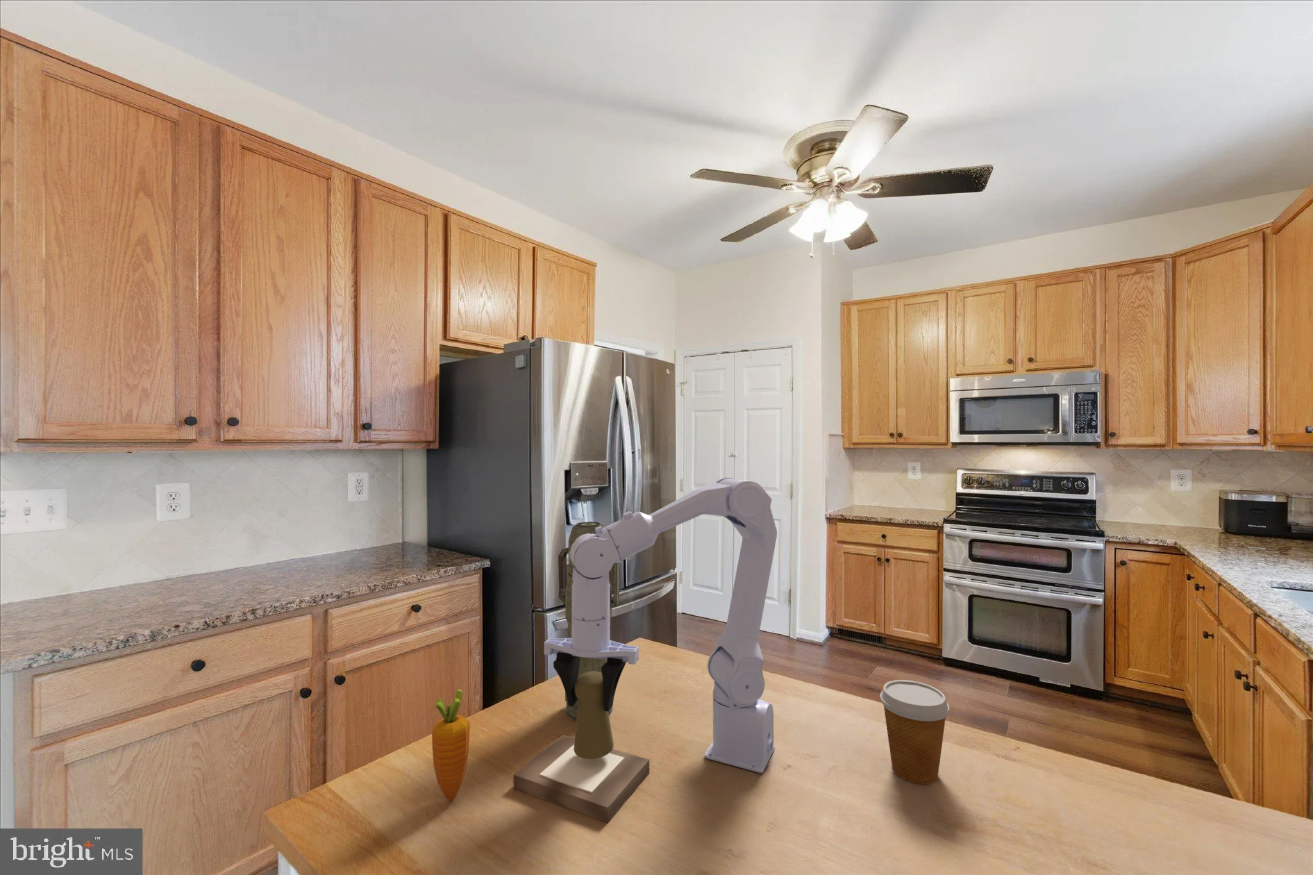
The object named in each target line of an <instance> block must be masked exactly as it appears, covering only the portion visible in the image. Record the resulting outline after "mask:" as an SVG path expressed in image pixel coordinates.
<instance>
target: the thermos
mask: <svg viewBox="0 0 1313 875" xmlns="http://www.w3.org/2000/svg"><path fill="white" fill-rule="evenodd" d="M599 526H601V527H602V528H604V527H606V526H605V524H602V523H601V522H597V521H581V522H577V523H576V524H573V525H572V527H571V531H570V534H569V536H568V541H567V542H568V544H567V545H568V547H565V548H562V550H561V551H560V553H559V554H558V560H557V561H558V562H557V564H558V565H557V566H558V588H559V589H558V591H559V592H558V599H559V600H560V601H561V603H563V605H564V606H565V607H564V611H565V612H564V613H565V614H564V616H565V620H566V622H567V638H572V584H573V579H572V575H573V568H574V567H575V566H574V565H573V563H572V562H571V560H570V556H569V552H570V551H571V546H572V544H573V543H574V542H575V540H576V539H577V538H578V537H579V536H581V535H584V534H589V533H590V534H595V535H596V531H595V528H597V527H599ZM567 556H568V558H567ZM567 560H568V562H567ZM567 566H568V567H569V572H568V574H567V570H568V568H567ZM612 576H613V578H612V579H613V580H612V583H611V581H610V579H609V584H610V621H611V620H612V617H613V607H618V605H619V601H620V562H618V563H614V564H613V566H612ZM567 578H568V580H567ZM612 584H613V585H612ZM612 586H613V587H612ZM606 662H607V660H605V659H596V658H587V657H580V664H579V674H578V677H579V676H580V675H582V674H583V673H586V672H591V671H596V672H601V667H602V666H603V665H604V664H605V663H606ZM601 673H602V672H601ZM564 696H565V697H564V699H565V702H566V707H565V715H566V716H567V718H569V719H570V720H571V721H573V722H576V720H577V710H578V701H577V702H576V703H575V704H574V706H573V707H571V706H568V701H567V697H566V693H565V692H564ZM612 712H613V707H612V708H611V709H610V710H609V711H608V714H609V716H610V715H611V714H612Z"/></svg>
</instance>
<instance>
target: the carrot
mask: <svg viewBox="0 0 1313 875" xmlns="http://www.w3.org/2000/svg"><path fill="white" fill-rule="evenodd" d="M462 697H463V690H462V689H457V690H456V693H455V698H454V700H453V702H452V703H451V704H447V705H445V702H444V701H443V700H442V699H441V697H440V698H438V699H437V700H436V702H435V708H436V709H437V710H438V712H439V713H440V715H441V716H442V718H440V719H438V720H437V722H436V723H435V725H434V726H433V729H432V732H431V743H432V744H431V745H432V746H431V747H432V749H431V751H432V761H433V762H432V764H433V767H434V768H433V769H434V773H435V776H436V777H435V778H436V781H437V782H436V783H437V785H438V787H439V789H440V791H441V793H442V795H443V796H444V798H445V799H446V800H447V801H448V802H453V801H454V800H455V799H456V798H457V797H456V796H457V795H458V793H459V791H460V789H461V786H462V782H463V779H464V777H465V773H466V769H467V764H468V758H469V753H470V752H469V749H470V731H471V730H470V728H471V727H470V726H471V725H470V720H468V719H467V718H466V717H464V716H463V715H461V714H458V712H459V711H458V710H459V708H460V706H461V700H462Z"/></svg>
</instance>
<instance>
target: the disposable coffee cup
mask: <svg viewBox="0 0 1313 875" xmlns="http://www.w3.org/2000/svg"><path fill="white" fill-rule="evenodd" d="M879 698H880V700H881V702H882V703H881V704H882V706H883V711H884V717H885V726H886V731H887V732H886V733H887V738H888V740H887V741H888V746H889V753H890V762H891V768H892V771H893V772H894V773H895V775H897V776H898V777H900V778H901V779H902V780H905V781H908V782H909V783H913V784H919V785H931V784H934V783H936V782H937V781H938V779H939V770H940V762H941V756H942V748H943V741H944V731H945V725H946V717H947V716H948V713H949V712H950V705H949V703H948V702H947V699H946V696H945V694H944V693H943V692H942V691H941V690H939V689H938V688H936V687H934V686H932V685H929V684H926V683H923V682H919V681H916V680H915V681H914V680H910V679H909V680H905V679H896V680H895V679H894V680H891V681H887V682H886V683H884V685H883V687H882V691H881V692H880V694H879Z"/></svg>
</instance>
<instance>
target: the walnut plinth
mask: <svg viewBox="0 0 1313 875" xmlns="http://www.w3.org/2000/svg"><path fill="white" fill-rule="evenodd" d="M574 741H575V737H573V736H569V735H566V734H562V735H561V736H560V737H558V738H557V739H556V740H555V741H554V742H552V743H551V744H549V745H548V747H546V748H545V749H544V750H542V751H541V752H540V753H539V754H537V755H536V756H535V757H533V758H532V759H530V761H529V762H527V763H526V764H525V765H524V766H523V767H522V768H520V769H519V770H517V771H516V772H515V773H514V774H513V789H514V790H515V791H520V792H522V793H524V794H528V795H530V796H533V797H536V798H539V799H540V800H544V801H547V802H550V803H551V804H555V805H558V806H560V807H563V808H565V809H568V810H571V811H575V812H577V813H580V814H582V815H585V816H587V817H590V818H594V819H596V820H599V821H601V822H605V823H607V824H608V823H609V822H610V821H611V820H612V818H614V817H615V815H616V814H617V812H618V811H619V810H620V809H621V808H622V807H623V806H624V804H625V803H626V802H627V800H628V799H629V798H630V797H631V796H632V794H634V792H635V791H636V790H637V788H639V786H640V785H641V784H642V783H643V781H644V780H645V779H646V778H647V777H648V776H649V774H650V758H649V759H648V758H645V757H641V756H638V755H636V754H635V755H634V754H632V753H628V752H625V751H621V750H617V749H614V748H613V749H612V751H611V752H610V753H609V754H607V755H606V756H603V757H601V758H597V759H584V758H581V757H579V756H577V755H576V754H575V752H574Z"/></svg>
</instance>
